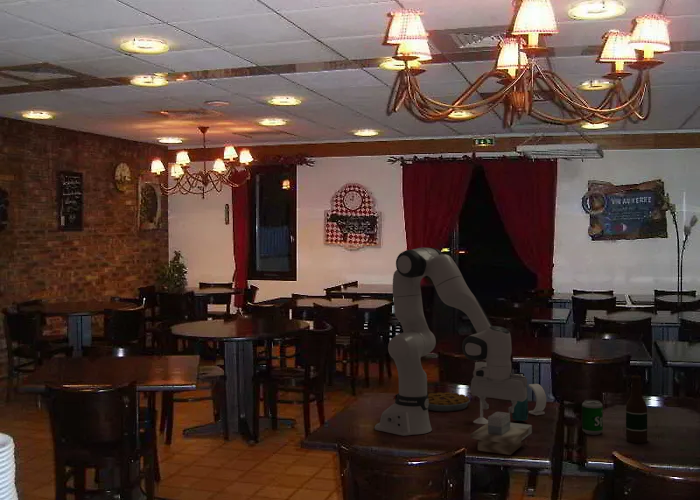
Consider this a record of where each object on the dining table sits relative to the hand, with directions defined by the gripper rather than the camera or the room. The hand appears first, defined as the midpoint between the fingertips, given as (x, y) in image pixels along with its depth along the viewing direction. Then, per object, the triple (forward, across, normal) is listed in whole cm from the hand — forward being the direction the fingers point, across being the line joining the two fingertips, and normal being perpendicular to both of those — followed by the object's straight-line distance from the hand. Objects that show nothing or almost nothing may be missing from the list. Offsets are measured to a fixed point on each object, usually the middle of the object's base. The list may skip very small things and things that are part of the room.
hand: (498, 410), depth 282 cm
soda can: (+13, -25, -36) cm, 45 cm away
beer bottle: (+13, -42, -32) cm, 54 cm away
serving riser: (+14, -1, 0) cm, 14 cm away
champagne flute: (+14, +18, -32) cm, 39 cm away
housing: (+8, 0, 0) cm, 8 cm away
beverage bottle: (+14, +4, -38) cm, 41 cm away
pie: (+15, +42, -50) cm, 67 cm away
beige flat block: (+14, +2, -19) cm, 23 cm away
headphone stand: (+14, +2, -55) cm, 57 cm away
